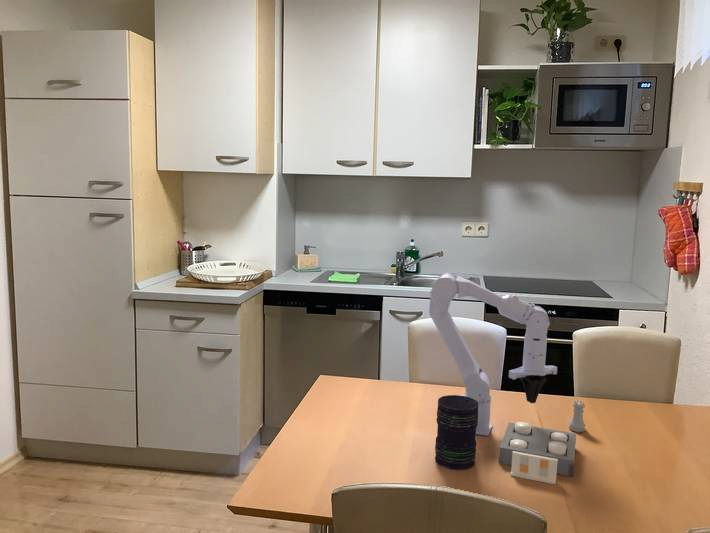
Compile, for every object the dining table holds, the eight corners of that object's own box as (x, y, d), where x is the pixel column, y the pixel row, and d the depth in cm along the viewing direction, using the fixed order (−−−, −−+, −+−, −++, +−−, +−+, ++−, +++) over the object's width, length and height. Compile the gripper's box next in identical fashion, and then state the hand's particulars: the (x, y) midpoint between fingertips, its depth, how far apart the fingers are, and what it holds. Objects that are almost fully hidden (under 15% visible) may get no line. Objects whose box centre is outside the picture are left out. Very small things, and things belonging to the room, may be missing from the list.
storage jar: (450, 473, 142) (453, 412, 140) (426, 456, 151) (429, 398, 149) (484, 465, 147) (487, 406, 145) (459, 449, 156) (462, 392, 154)
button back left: (513, 438, 158) (514, 426, 157) (515, 432, 162) (516, 420, 161) (529, 441, 156) (530, 429, 156) (531, 435, 160) (531, 423, 160)
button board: (498, 462, 149) (499, 447, 148) (508, 436, 164) (509, 422, 164) (572, 476, 143) (574, 460, 142) (575, 448, 158) (576, 433, 158)
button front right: (547, 459, 146) (548, 446, 146) (548, 452, 150) (549, 440, 150) (564, 462, 145) (565, 449, 144) (565, 455, 149) (566, 443, 148)
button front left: (508, 456, 150) (509, 444, 149) (510, 450, 153) (511, 438, 153) (525, 459, 148) (526, 447, 148) (527, 453, 152) (527, 441, 151)
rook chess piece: (586, 433, 168) (588, 405, 167) (569, 431, 169) (571, 404, 168) (583, 427, 172) (586, 400, 171) (567, 425, 173) (569, 398, 172)
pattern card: (510, 475, 142) (511, 454, 142) (512, 470, 145) (513, 449, 144) (555, 484, 139) (557, 462, 138) (556, 478, 142) (557, 457, 141)
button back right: (549, 449, 155) (550, 437, 154) (550, 443, 158) (551, 431, 158) (566, 452, 153) (567, 440, 153) (566, 445, 157) (567, 434, 157)
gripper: (522, 359, 156) (518, 410, 158) (566, 354, 162) (562, 403, 164) (505, 351, 163) (502, 401, 164) (548, 347, 168) (544, 395, 170)
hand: (531, 401), depth 165 cm, fingers closed
